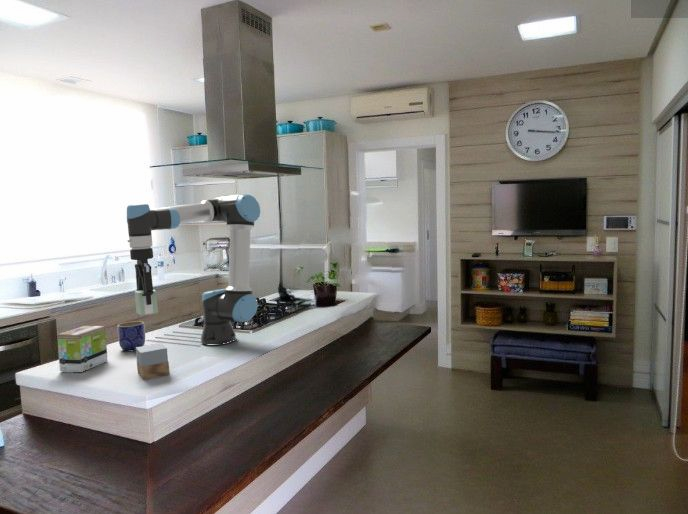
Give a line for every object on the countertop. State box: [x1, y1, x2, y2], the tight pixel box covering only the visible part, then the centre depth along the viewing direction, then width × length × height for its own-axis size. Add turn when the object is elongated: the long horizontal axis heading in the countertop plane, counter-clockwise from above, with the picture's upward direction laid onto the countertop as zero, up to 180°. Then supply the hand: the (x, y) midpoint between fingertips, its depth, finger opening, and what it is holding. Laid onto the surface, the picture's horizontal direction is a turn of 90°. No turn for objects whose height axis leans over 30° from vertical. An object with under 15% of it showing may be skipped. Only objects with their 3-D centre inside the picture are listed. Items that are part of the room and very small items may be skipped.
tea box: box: [57, 325, 108, 373], centre depth 199 cm, size 15×10×15 cm
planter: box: [116, 320, 146, 352], centre depth 223 cm, size 11×11×11 cm
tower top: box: [135, 342, 169, 367], centre depth 186 cm, size 9×9×5 cm
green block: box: [134, 289, 159, 316], centre depth 184 cm, size 6×6×8 cm
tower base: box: [136, 360, 170, 381], centre depth 186 cm, size 9×9×5 cm
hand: (146, 312), depth 185 cm, fingers closed on green block, 6 cm apart
